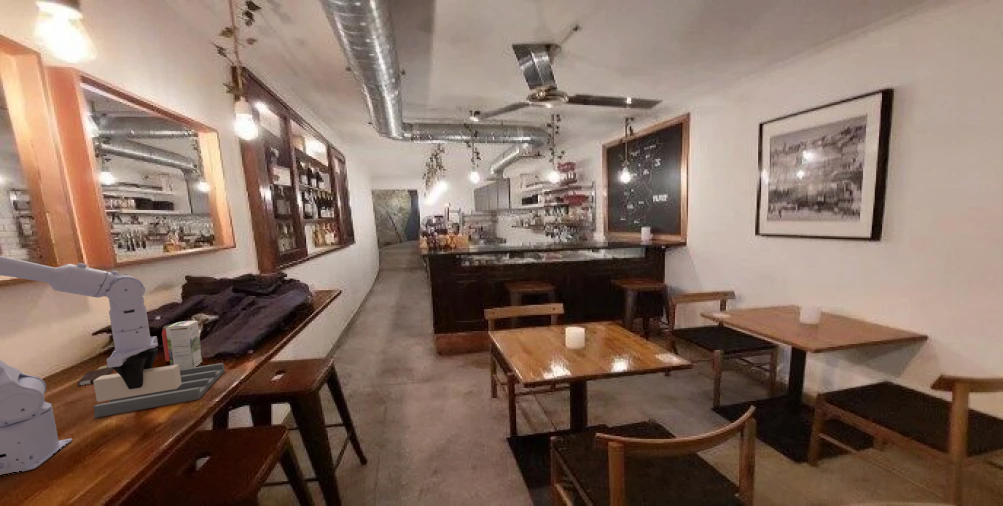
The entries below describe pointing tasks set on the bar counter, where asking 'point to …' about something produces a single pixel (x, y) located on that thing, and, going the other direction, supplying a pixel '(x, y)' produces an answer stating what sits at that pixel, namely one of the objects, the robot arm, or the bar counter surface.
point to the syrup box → (184, 344)
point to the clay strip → (152, 382)
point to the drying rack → (166, 392)
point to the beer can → (165, 342)
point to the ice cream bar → (94, 375)
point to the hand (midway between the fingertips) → (139, 384)
